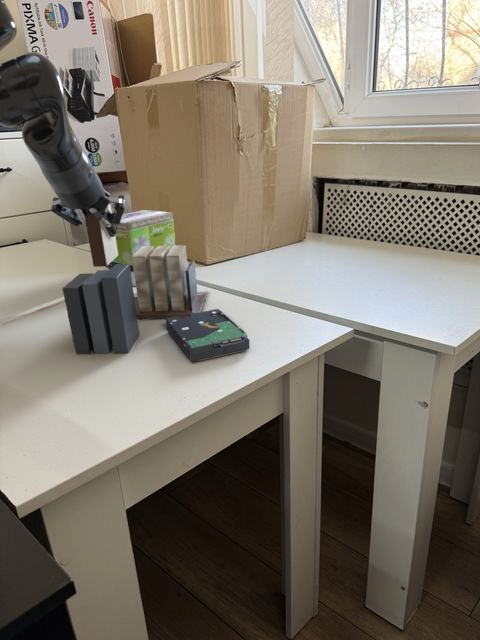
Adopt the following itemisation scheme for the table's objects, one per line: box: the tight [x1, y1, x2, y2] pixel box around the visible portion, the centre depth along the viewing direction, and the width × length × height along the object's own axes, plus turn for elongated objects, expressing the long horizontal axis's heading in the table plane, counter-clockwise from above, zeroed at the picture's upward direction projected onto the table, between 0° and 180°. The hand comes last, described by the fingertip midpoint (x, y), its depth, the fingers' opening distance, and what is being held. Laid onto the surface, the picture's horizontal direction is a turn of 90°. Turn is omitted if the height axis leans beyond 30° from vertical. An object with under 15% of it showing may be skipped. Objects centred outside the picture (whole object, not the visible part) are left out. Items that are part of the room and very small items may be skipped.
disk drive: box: [165, 308, 250, 362], centre depth 87 cm, size 10×3×15 cm
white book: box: [85, 204, 118, 268], centre depth 96 cm, size 8×2×11 cm, turn 179°
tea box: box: [104, 209, 176, 287], centre depth 121 cm, size 15×10×15 cm, turn 148°
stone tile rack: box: [132, 244, 207, 321], centre depth 100 cm, size 22×11×12 cm, turn 89°
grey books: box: [62, 264, 140, 355], centre depth 85 cm, size 8×9×13 cm
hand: (105, 233), depth 98 cm, fingers closed on white book, 2 cm apart
